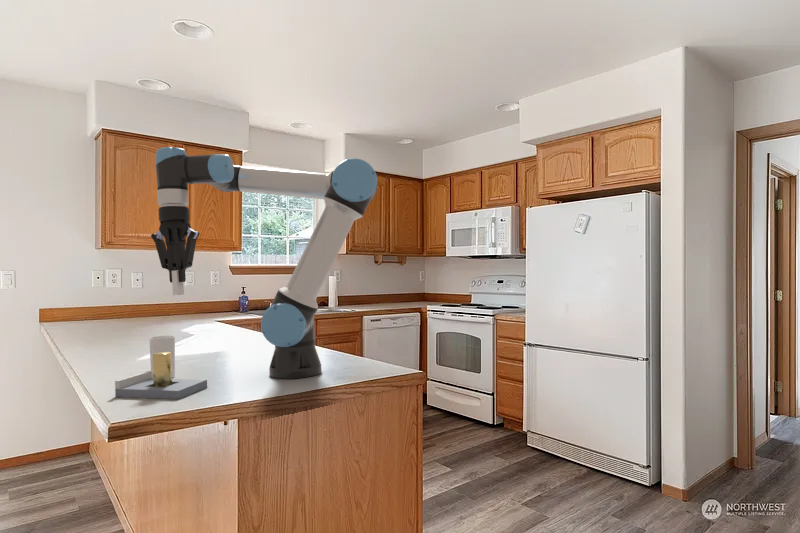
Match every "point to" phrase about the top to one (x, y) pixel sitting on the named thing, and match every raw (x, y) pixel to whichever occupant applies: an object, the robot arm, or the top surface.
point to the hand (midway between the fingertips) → (178, 294)
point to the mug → (163, 349)
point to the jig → (144, 387)
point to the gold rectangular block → (162, 369)
